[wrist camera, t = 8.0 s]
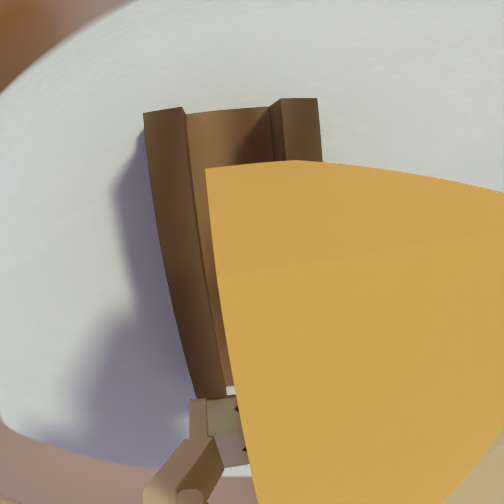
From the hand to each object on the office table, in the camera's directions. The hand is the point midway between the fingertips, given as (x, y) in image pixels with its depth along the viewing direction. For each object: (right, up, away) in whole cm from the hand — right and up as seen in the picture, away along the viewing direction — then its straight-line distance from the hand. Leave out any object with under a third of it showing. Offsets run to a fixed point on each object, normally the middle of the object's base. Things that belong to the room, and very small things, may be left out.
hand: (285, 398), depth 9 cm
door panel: (0, +1, +3) cm, 3 cm away
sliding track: (-2, +4, +12) cm, 13 cm away
